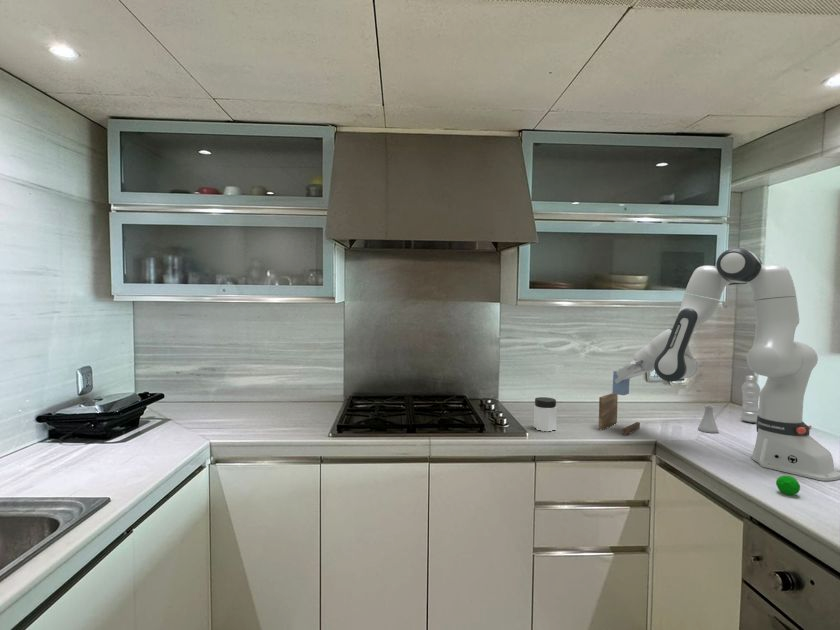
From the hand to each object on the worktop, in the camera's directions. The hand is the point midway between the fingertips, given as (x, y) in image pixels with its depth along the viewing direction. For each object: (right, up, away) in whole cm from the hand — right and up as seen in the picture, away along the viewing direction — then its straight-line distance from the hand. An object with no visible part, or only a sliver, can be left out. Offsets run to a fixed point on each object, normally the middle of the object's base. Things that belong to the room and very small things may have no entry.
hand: (619, 381), depth 183 cm
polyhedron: (+19, -22, -60) cm, 67 cm away
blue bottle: (0, -5, 0) cm, 5 cm away
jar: (-30, -19, -1) cm, 36 cm away
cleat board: (0, -19, 0) cm, 19 cm away
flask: (+35, -20, -1) cm, 40 cm away
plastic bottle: (+62, -20, +13) cm, 66 cm away
